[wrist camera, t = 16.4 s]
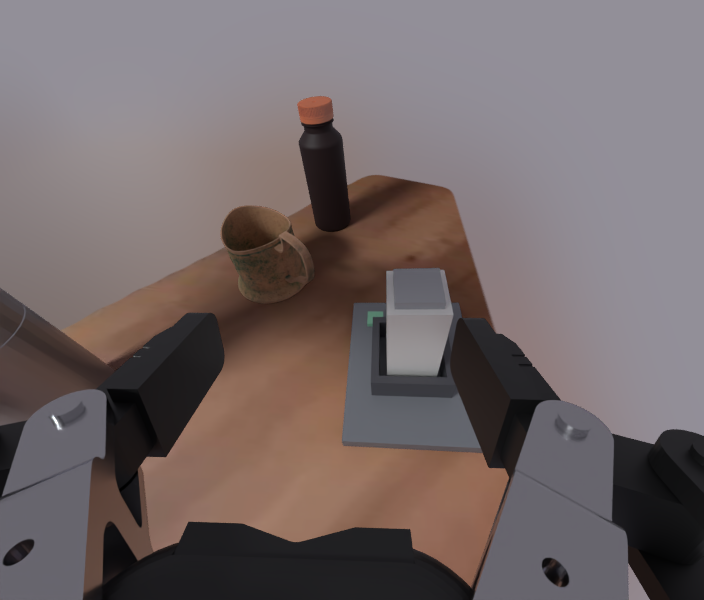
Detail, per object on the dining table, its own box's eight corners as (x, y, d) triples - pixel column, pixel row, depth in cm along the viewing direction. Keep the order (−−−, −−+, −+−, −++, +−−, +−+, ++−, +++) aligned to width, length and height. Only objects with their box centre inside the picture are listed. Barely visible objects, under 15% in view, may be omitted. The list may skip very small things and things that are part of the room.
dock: (486, 453, 29) (499, 438, 26) (343, 445, 31) (338, 431, 27) (456, 309, 41) (463, 287, 38) (354, 309, 42) (352, 287, 39)
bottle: (308, 226, 57) (280, 106, 42) (329, 208, 61) (310, 92, 46) (337, 236, 54) (318, 111, 39) (357, 217, 58) (347, 96, 43)
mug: (289, 339, 40) (262, 274, 31) (225, 279, 49) (190, 215, 40) (351, 291, 45) (342, 223, 36) (282, 245, 54) (261, 181, 45)
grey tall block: (387, 382, 33) (387, 308, 24) (386, 342, 37) (386, 264, 27) (435, 383, 33) (455, 308, 23) (429, 343, 36) (445, 263, 27)
